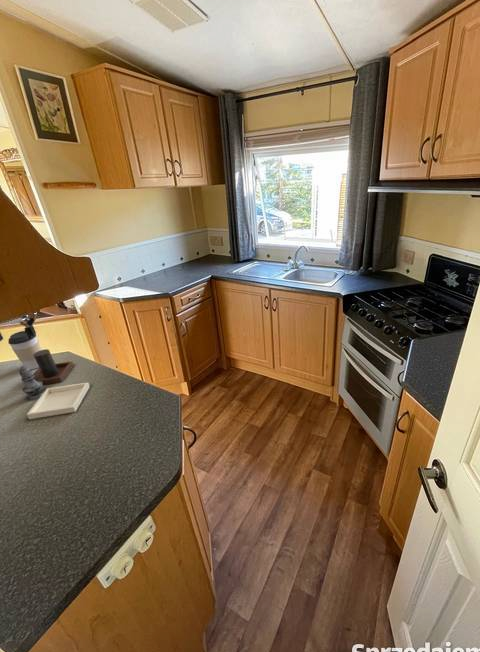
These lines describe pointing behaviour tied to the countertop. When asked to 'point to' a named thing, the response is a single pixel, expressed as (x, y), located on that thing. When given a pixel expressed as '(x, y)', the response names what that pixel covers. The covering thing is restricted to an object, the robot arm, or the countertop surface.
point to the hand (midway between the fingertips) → (16, 339)
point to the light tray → (59, 400)
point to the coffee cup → (25, 348)
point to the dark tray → (63, 371)
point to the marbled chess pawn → (31, 384)
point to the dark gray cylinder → (46, 363)
